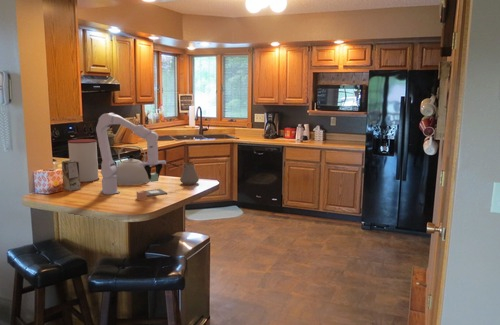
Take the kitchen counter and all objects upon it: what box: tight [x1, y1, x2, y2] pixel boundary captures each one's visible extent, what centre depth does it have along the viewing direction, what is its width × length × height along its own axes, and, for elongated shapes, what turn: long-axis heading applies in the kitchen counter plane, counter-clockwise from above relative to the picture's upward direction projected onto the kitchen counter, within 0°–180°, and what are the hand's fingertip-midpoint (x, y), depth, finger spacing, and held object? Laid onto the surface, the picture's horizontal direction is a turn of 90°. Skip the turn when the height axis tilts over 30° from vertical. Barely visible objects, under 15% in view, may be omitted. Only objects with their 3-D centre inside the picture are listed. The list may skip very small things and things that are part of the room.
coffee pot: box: [165, 161, 200, 186], centre depth 253 cm, size 21×12×15 cm, turn 132°
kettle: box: [116, 145, 154, 186], centre depth 262 cm, size 25×23×23 cm
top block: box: [135, 190, 148, 201], centre depth 222 cm, size 4×4×4 cm
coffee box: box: [61, 159, 81, 192], centre depth 242 cm, size 9×6×16 cm
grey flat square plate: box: [145, 188, 168, 198], centre depth 234 cm, size 11×11×1 cm
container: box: [67, 138, 100, 184], centre depth 265 cm, size 17×17×25 cm
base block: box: [149, 172, 159, 183], centre depth 233 cm, size 4×4×4 cm
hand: (153, 178), depth 233 cm, fingers closed on base block, 4 cm apart
